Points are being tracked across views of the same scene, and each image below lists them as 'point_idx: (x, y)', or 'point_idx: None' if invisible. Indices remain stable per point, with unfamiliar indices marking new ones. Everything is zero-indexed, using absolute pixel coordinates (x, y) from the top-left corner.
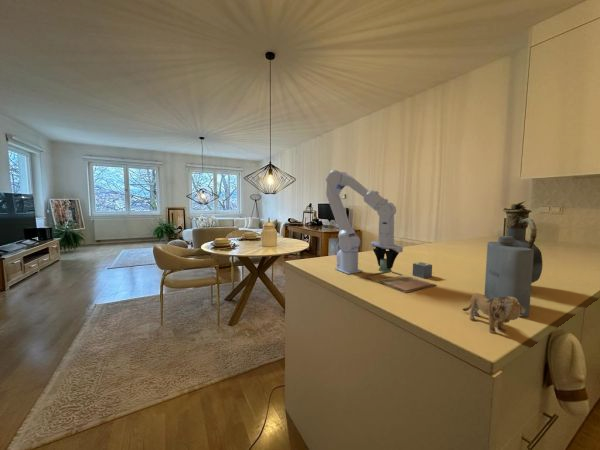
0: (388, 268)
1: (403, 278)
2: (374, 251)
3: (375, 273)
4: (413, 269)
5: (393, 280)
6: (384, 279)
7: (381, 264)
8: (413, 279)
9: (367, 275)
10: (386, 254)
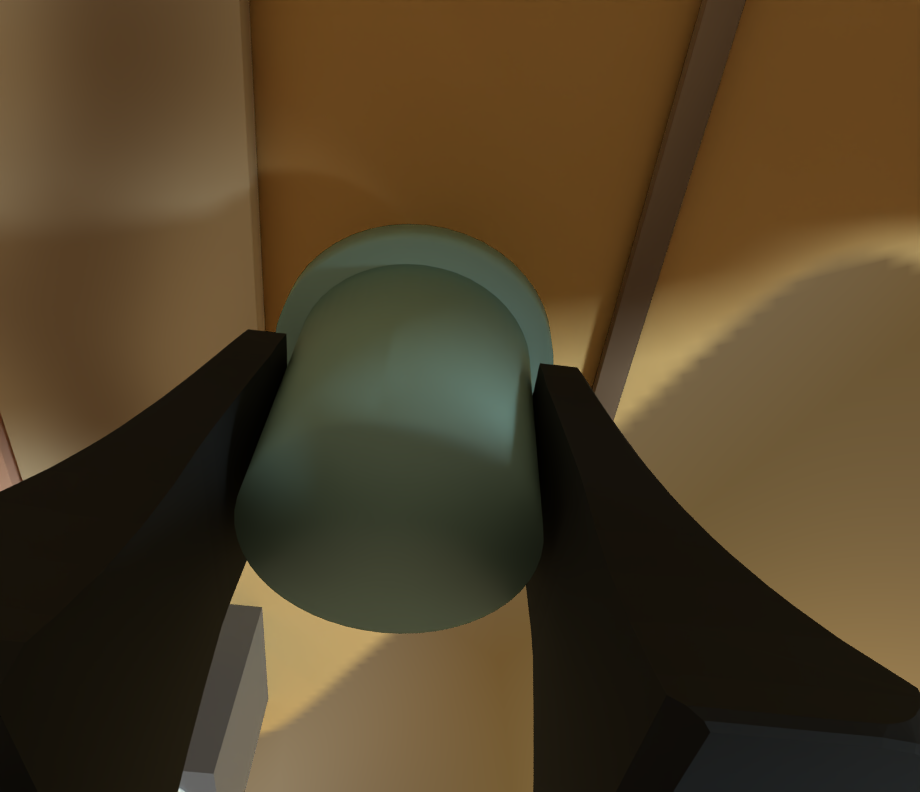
0: (245, 333)
1: (123, 381)
2: (813, 651)
3: (652, 288)
4: (226, 683)
5: (81, 139)
6: (216, 37)
7: (421, 338)
8: (24, 445)
9: (701, 14)
10: (36, 568)
